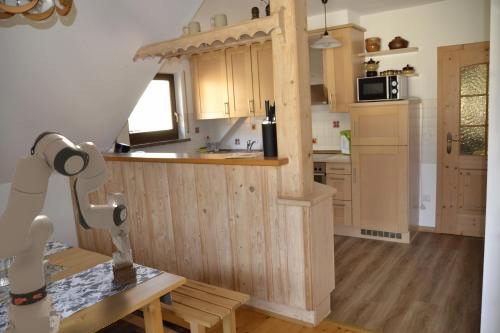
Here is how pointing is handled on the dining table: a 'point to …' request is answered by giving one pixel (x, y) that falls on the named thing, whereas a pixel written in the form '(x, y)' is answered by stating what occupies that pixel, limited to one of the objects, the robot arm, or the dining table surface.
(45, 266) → the light bulb box
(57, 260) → the dining table surface
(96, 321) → the dining table surface
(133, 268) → the walnut rack
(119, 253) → the aluminium panel
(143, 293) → the dining table surface
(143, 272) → the dining table surface
